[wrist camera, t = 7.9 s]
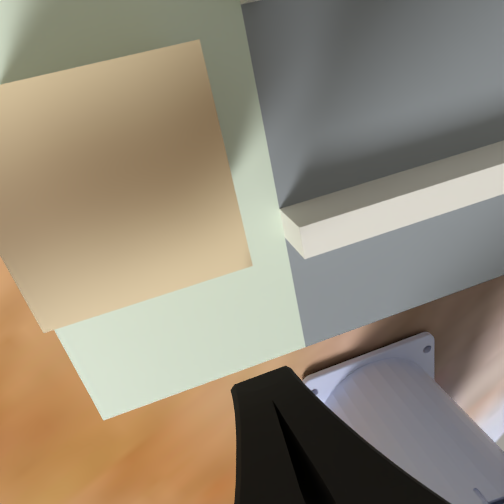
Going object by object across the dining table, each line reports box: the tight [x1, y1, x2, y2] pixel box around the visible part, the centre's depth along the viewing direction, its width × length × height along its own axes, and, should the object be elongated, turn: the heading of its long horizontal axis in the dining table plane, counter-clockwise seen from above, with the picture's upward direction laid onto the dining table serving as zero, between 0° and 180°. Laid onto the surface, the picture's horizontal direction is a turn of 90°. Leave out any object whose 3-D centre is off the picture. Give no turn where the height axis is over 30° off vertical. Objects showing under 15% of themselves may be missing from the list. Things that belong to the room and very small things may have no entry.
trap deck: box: [0, 0, 504, 420], centre depth 15 cm, size 20×31×4 cm, turn 102°
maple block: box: [0, 39, 253, 333], centre depth 11 cm, size 5×5×5 cm
